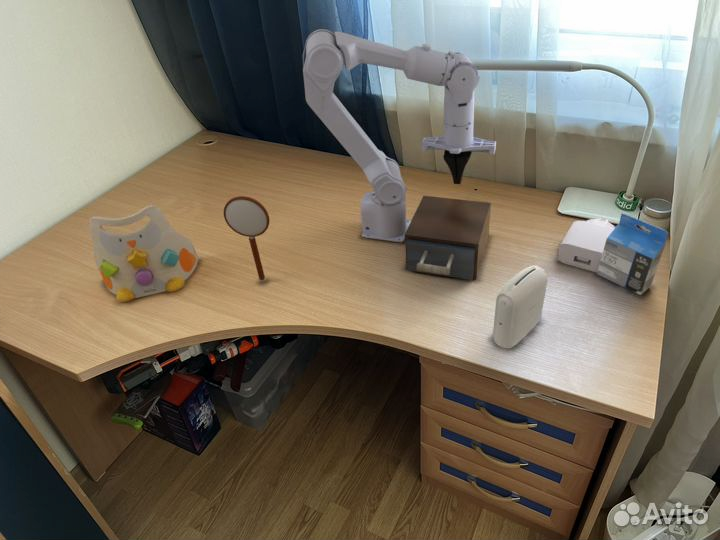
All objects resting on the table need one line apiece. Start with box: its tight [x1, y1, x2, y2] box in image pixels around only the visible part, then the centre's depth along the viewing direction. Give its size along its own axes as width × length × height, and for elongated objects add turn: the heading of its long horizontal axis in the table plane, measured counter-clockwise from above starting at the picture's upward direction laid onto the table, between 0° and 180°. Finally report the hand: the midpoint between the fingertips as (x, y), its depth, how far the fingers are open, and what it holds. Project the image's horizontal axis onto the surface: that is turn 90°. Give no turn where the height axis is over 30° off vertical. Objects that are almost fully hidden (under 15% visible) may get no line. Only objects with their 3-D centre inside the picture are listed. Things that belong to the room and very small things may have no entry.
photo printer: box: [492, 264, 549, 349], centre depth 89 cm, size 10×4×12 cm, turn 133°
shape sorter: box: [88, 204, 199, 303], centre depth 106 cm, size 20×10×18 cm, turn 105°
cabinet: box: [404, 195, 492, 281], centre depth 109 cm, size 15×14×9 cm
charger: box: [556, 216, 616, 273], centre depth 108 cm, size 5×9×15 cm
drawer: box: [406, 239, 475, 281], centre depth 106 cm, size 19×13×7 cm
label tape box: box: [596, 212, 669, 296], centre depth 97 cm, size 9×4×12 cm, turn 39°
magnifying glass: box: [223, 195, 270, 283], centre depth 103 cm, size 9×2×20 cm, turn 80°
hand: (457, 181), depth 113 cm, fingers closed
